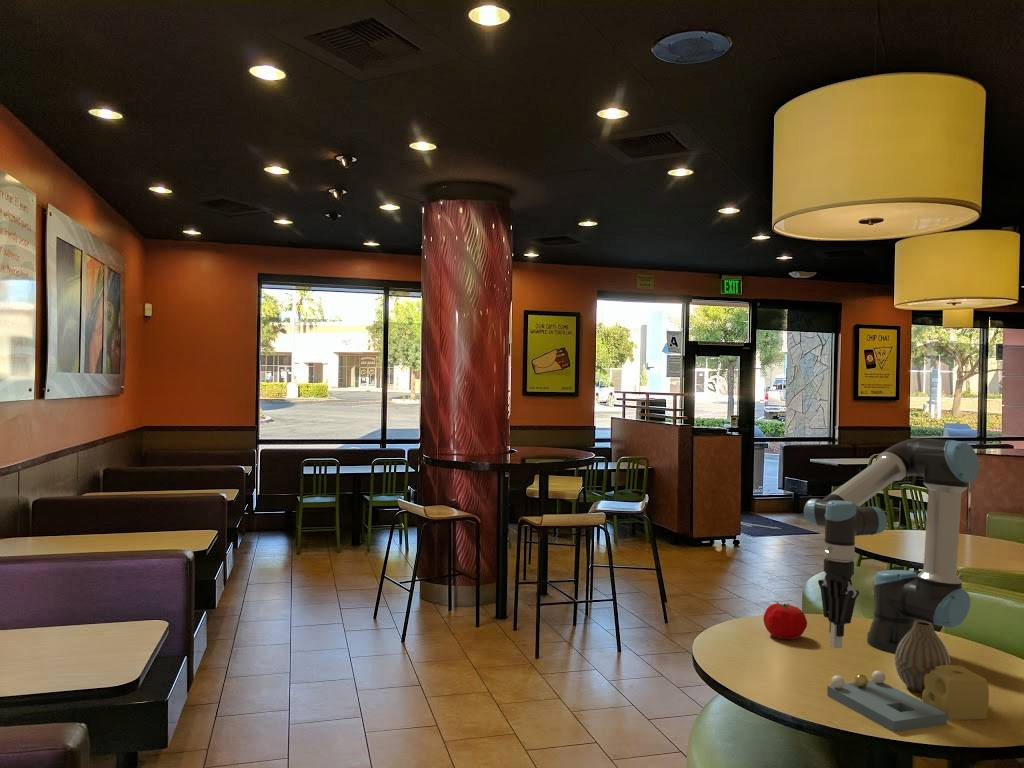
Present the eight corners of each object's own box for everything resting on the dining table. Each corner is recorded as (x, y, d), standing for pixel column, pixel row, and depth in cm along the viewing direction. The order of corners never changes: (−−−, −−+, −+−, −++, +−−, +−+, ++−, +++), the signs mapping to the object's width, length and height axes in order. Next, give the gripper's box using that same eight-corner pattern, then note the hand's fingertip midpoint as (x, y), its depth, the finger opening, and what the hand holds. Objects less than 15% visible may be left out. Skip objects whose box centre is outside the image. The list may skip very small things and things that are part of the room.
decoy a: (878, 680, 208) (878, 668, 208) (888, 684, 205) (888, 672, 205) (868, 681, 207) (869, 669, 207) (878, 686, 204) (878, 673, 204)
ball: (861, 684, 205) (861, 671, 205) (870, 688, 202) (871, 676, 202) (851, 685, 204) (851, 673, 204) (860, 690, 201) (860, 677, 201)
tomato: (755, 635, 251) (756, 602, 251) (775, 628, 259) (775, 595, 259) (794, 646, 241) (795, 612, 241) (814, 638, 249) (814, 604, 249)
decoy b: (838, 685, 204) (838, 672, 204) (847, 689, 201) (847, 677, 201) (828, 686, 203) (828, 674, 203) (837, 691, 200) (837, 678, 200)
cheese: (921, 703, 199) (922, 664, 199) (961, 703, 200) (962, 664, 200) (947, 721, 189) (948, 680, 189) (990, 721, 190) (991, 679, 190)
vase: (956, 689, 209) (958, 623, 209) (941, 703, 200) (942, 634, 200) (904, 675, 218) (905, 612, 218) (886, 688, 209) (888, 622, 209)
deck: (877, 689, 208) (877, 679, 208) (947, 724, 187) (947, 713, 187) (827, 695, 203) (827, 685, 203) (893, 732, 182) (893, 721, 182)
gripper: (810, 554, 216) (808, 640, 216) (845, 565, 204) (842, 656, 204) (833, 553, 218) (830, 638, 218) (868, 564, 206) (865, 654, 206)
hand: (836, 647), depth 211 cm, fingers closed
